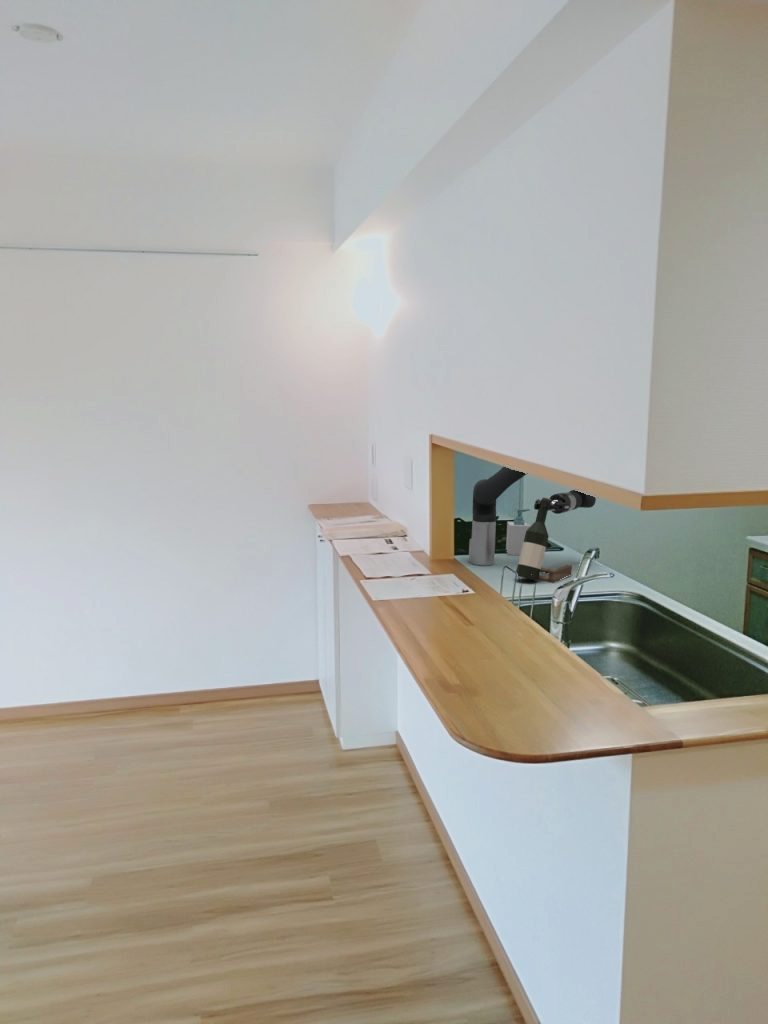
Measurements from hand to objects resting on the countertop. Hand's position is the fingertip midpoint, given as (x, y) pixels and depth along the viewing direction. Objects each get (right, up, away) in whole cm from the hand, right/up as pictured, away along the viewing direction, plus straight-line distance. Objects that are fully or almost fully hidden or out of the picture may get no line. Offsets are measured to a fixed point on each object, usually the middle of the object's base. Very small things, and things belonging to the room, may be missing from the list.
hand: (540, 507), depth 288 cm
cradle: (+4, -25, +10) cm, 28 cm away
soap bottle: (0, -19, +46) cm, 50 cm away
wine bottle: (-5, -26, 0) cm, 26 cm away
